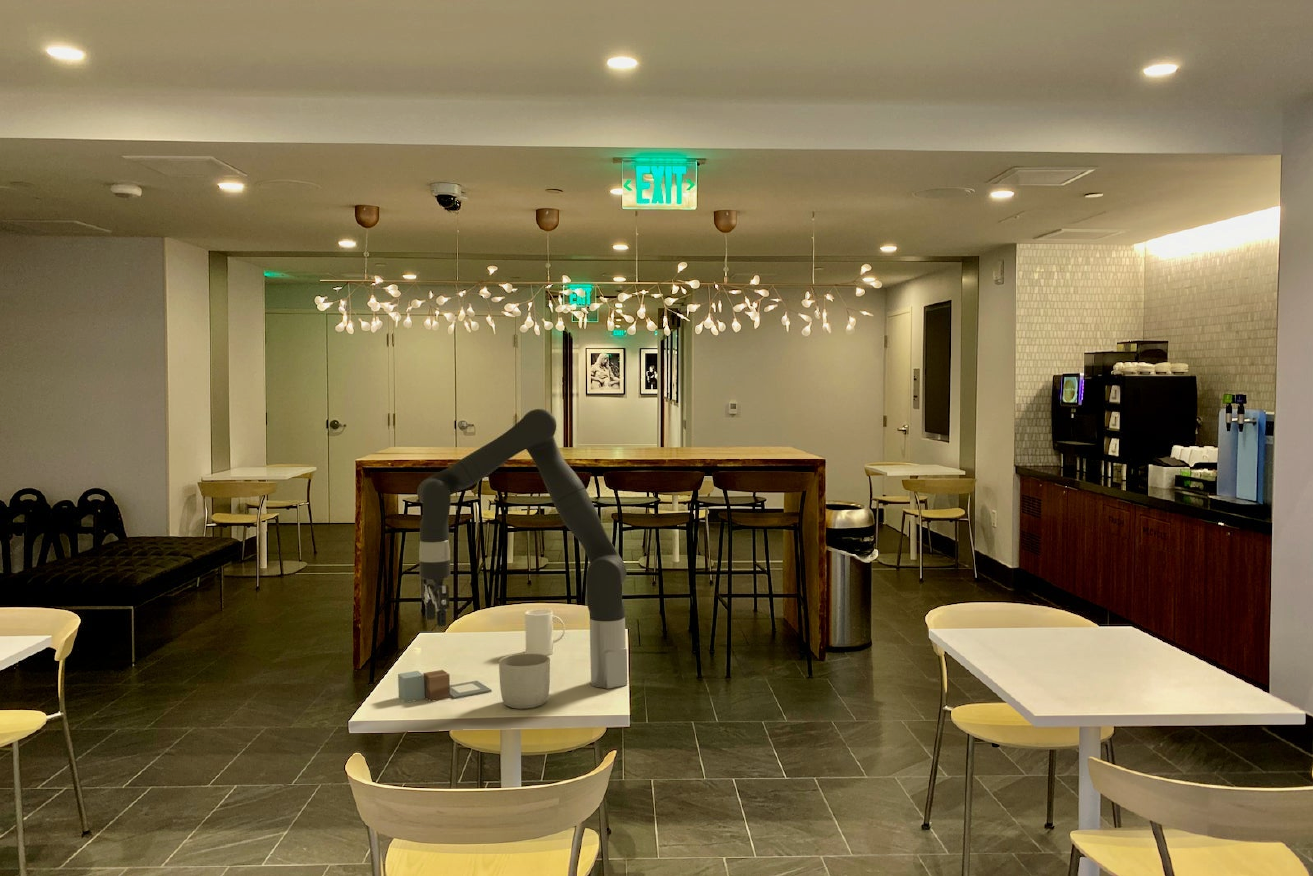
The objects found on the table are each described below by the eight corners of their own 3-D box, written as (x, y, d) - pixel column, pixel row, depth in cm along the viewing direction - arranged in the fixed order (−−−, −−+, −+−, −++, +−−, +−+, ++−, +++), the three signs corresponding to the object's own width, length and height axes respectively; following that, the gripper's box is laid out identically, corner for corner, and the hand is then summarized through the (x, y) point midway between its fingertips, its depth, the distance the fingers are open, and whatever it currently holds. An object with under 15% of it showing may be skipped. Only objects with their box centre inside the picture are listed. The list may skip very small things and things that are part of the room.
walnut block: (449, 698, 237) (449, 674, 237) (430, 701, 235) (429, 677, 235) (443, 693, 242) (442, 669, 241) (423, 696, 239) (423, 673, 239)
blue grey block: (424, 699, 237) (423, 675, 237) (404, 702, 234) (404, 678, 234) (418, 694, 241) (417, 670, 241) (398, 697, 239) (398, 674, 238)
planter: (489, 704, 232) (488, 660, 231) (530, 693, 240) (529, 650, 240) (519, 715, 223) (518, 669, 222) (561, 703, 231) (560, 659, 231)
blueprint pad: (491, 691, 242) (491, 689, 242) (454, 698, 236) (453, 696, 236) (476, 682, 250) (476, 680, 250) (440, 689, 245) (440, 686, 245)
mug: (567, 648, 283) (566, 608, 283) (562, 656, 275) (561, 615, 274) (528, 648, 284) (527, 609, 284) (522, 656, 276) (521, 615, 275)
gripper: (458, 561, 234) (459, 626, 234) (440, 553, 246) (441, 615, 247) (428, 563, 230) (430, 630, 230) (411, 556, 242) (412, 619, 243)
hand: (435, 622), depth 239 cm, fingers open, 8 cm apart
